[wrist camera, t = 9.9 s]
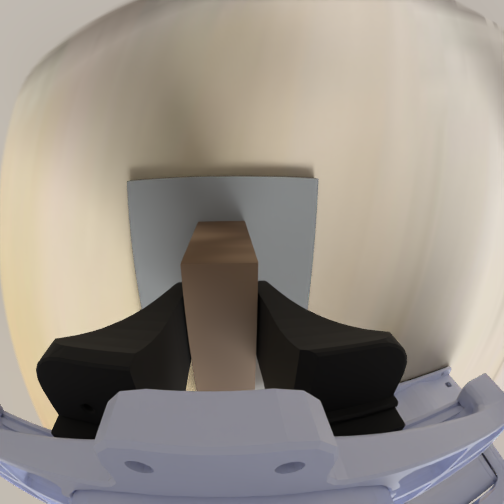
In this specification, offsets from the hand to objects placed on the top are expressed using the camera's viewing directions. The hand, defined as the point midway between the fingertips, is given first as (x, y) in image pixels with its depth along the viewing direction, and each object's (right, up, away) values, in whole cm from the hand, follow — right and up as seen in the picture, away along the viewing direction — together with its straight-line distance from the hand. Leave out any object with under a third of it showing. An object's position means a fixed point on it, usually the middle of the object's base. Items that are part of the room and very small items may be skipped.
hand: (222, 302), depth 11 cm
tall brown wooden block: (0, +1, +4) cm, 4 cm away
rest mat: (0, +1, +4) cm, 4 cm away
